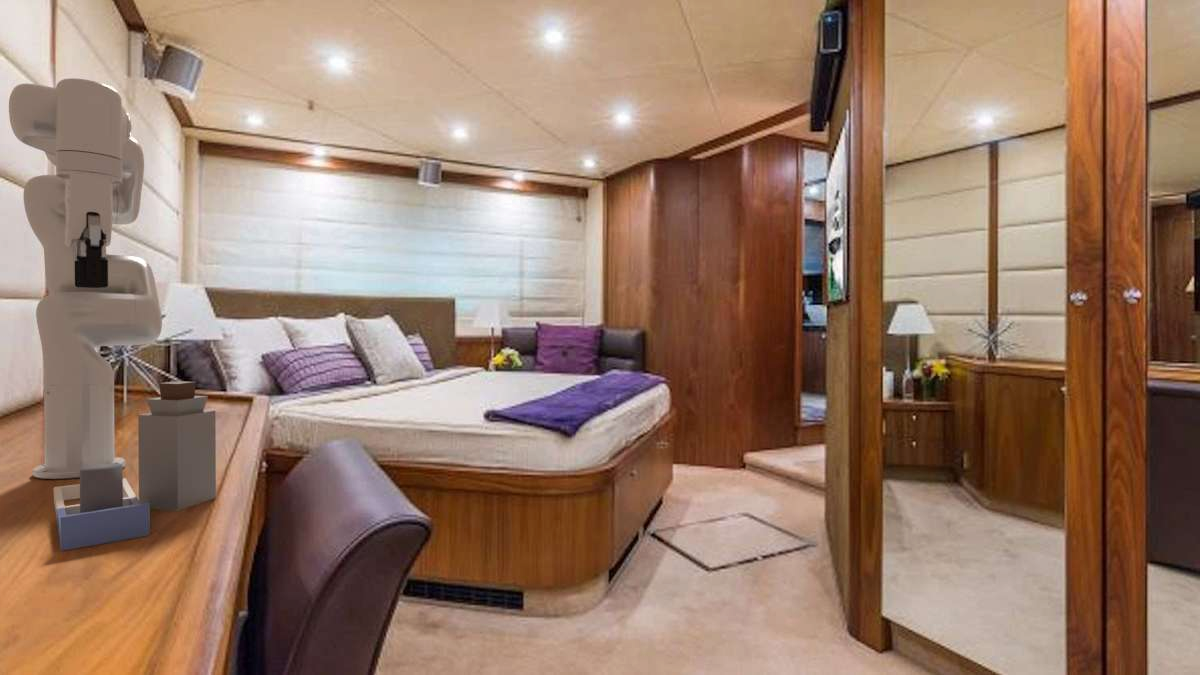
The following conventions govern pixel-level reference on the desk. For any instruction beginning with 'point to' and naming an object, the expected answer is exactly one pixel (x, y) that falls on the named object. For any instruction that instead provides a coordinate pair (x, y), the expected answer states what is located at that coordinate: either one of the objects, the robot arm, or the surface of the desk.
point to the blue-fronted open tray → (99, 519)
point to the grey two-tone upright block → (101, 487)
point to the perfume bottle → (177, 449)
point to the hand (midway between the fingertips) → (90, 287)
